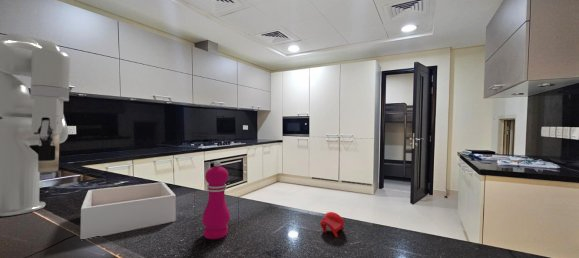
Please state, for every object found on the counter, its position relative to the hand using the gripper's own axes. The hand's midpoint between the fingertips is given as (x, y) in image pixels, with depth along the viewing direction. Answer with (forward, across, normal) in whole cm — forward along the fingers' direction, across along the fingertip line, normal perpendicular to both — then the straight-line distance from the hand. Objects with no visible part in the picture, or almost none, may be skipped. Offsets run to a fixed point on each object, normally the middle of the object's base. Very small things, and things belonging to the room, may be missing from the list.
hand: (48, 158), depth 66 cm
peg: (+3, 0, 0) cm, 3 cm away
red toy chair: (+19, +49, +64) cm, 83 cm away
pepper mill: (+19, +31, +37) cm, 52 cm away
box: (+19, +4, +19) cm, 28 cm away
